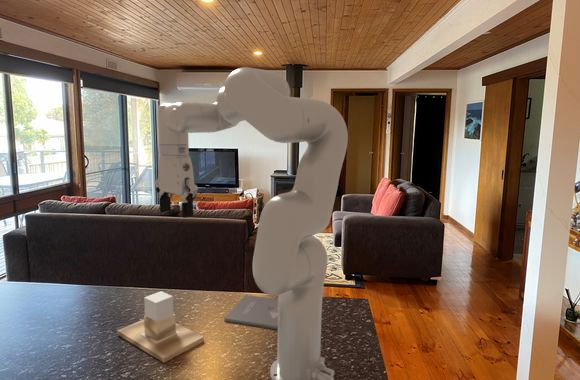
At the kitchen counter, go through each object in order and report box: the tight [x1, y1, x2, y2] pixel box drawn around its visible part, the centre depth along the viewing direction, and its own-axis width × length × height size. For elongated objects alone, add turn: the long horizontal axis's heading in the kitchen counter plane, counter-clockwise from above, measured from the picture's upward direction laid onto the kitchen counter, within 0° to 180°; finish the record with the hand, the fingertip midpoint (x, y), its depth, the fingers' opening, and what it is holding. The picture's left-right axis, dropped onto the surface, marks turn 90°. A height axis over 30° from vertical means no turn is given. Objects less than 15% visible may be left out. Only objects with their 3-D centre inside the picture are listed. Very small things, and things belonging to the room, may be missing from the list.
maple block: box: [143, 313, 176, 341], centre depth 104 cm, size 6×6×5 cm
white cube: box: [143, 290, 175, 322], centre depth 103 cm, size 5×5×5 cm
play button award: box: [223, 294, 278, 331], centre depth 119 cm, size 16×2×20 cm
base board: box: [116, 318, 205, 364], centre depth 104 cm, size 20×12×1 cm, turn 53°
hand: (176, 214), depth 110 cm, fingers open, 9 cm apart
